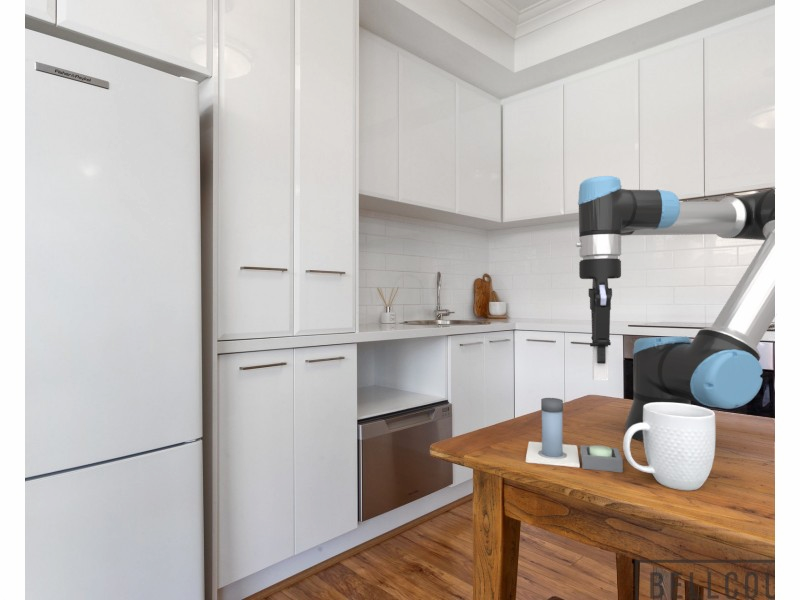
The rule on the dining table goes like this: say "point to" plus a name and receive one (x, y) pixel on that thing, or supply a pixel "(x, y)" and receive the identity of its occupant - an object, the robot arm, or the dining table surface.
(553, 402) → the capped blue-grey cylinder
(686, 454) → the mug
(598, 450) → the button
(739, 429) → the dining table surface
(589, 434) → the dining table surface
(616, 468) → the button housing
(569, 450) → the white flat plate
